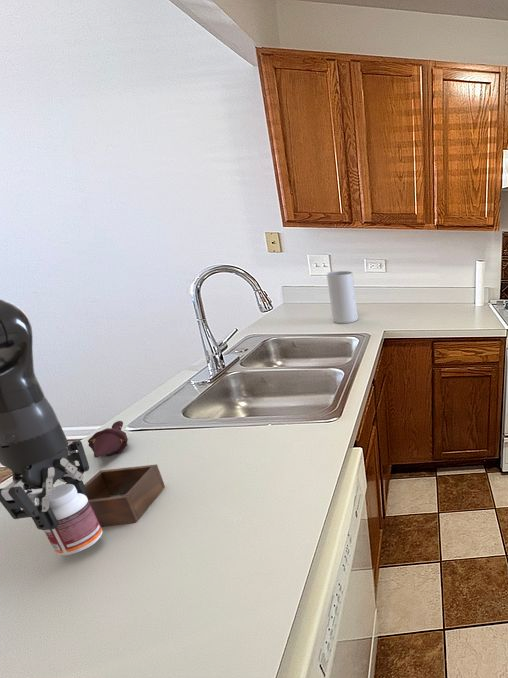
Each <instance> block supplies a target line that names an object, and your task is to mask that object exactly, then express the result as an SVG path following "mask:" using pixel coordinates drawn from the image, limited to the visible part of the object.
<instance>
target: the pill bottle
mask: <svg viewBox="0 0 508 678" xmlns="http://www.w3.org/2000/svg"><path fill="white" fill-rule="evenodd" d="M35 503H36V505H39V499H38V498H35ZM49 508H51V509H52V511H53V513H54V515H55V517H56V519H57V521H58V523H59V525H58V526H57V527H56V528H55V529H50V530H43V532H44V534H45V536H46V537H47V539H48V541H49V543H50V545H51V546H52V548H53V550H54V552H55V553H56V554H58V555H60V556H70V555H73V554H76V553H79V552H81V551H84V550H86V549H88V548H90V547H91V546H93V545H94V544H95V543H97V542H98V541H99V539H101V537H102V535H103V529H102V528H103V527H101V526H100V524H99V522H98V520H97V518H96V516H95V513H94V511H93V509H92V507H91V505H90V503H89V501H88V499H87V497H86V496H85V495H84V494H80V493H77V490H76V488H75V486H74V485H72V484H66V483H64V484H60V485H56V486H53V493H52V495H50V496H49Z"/></svg>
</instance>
